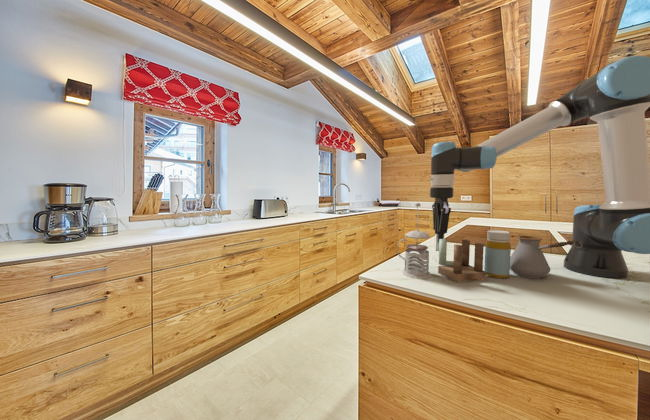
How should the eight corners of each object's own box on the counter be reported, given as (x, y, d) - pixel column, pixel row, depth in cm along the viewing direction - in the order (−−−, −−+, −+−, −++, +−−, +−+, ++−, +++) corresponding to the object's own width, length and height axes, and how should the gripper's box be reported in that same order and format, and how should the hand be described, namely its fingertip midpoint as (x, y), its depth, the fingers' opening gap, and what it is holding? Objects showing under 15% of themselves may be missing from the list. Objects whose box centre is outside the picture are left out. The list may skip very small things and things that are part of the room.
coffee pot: (498, 269, 89) (500, 228, 88) (528, 268, 89) (530, 227, 88) (556, 294, 68) (559, 241, 66) (595, 293, 68) (600, 240, 67)
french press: (433, 280, 80) (434, 203, 77) (396, 276, 83) (396, 203, 81) (430, 270, 89) (431, 201, 87) (397, 267, 93) (397, 201, 90)
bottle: (500, 271, 86) (503, 229, 85) (514, 279, 79) (516, 233, 78) (480, 271, 87) (481, 229, 86) (491, 278, 80) (493, 233, 79)
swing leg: (460, 264, 87) (461, 239, 86) (461, 266, 84) (462, 240, 83) (438, 263, 89) (438, 238, 88) (439, 265, 86) (439, 240, 86)
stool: (465, 270, 88) (466, 239, 87) (486, 279, 79) (487, 244, 78) (438, 272, 86) (438, 240, 85) (456, 282, 77) (457, 246, 76)
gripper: (425, 186, 94) (423, 245, 97) (436, 187, 82) (433, 255, 85) (446, 186, 93) (443, 246, 96) (460, 187, 81) (456, 256, 84)
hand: (439, 250), depth 90 cm, fingers closed
